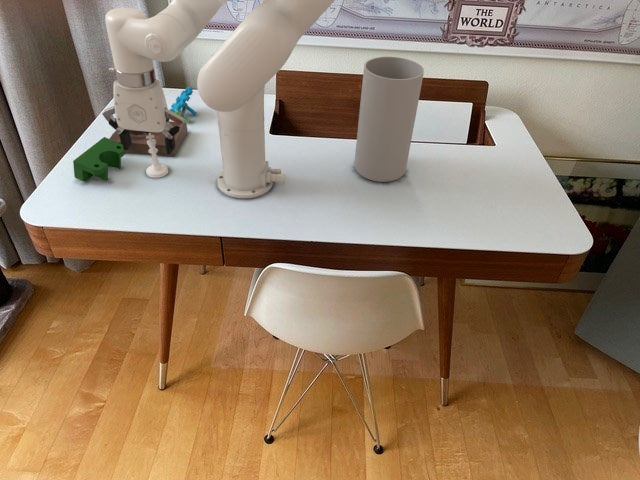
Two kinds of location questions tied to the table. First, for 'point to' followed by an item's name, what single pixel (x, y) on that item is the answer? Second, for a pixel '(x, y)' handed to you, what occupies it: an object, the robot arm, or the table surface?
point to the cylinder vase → (387, 117)
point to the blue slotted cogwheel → (183, 104)
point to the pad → (140, 141)
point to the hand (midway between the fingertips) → (149, 149)
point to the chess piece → (155, 160)
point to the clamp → (98, 160)
